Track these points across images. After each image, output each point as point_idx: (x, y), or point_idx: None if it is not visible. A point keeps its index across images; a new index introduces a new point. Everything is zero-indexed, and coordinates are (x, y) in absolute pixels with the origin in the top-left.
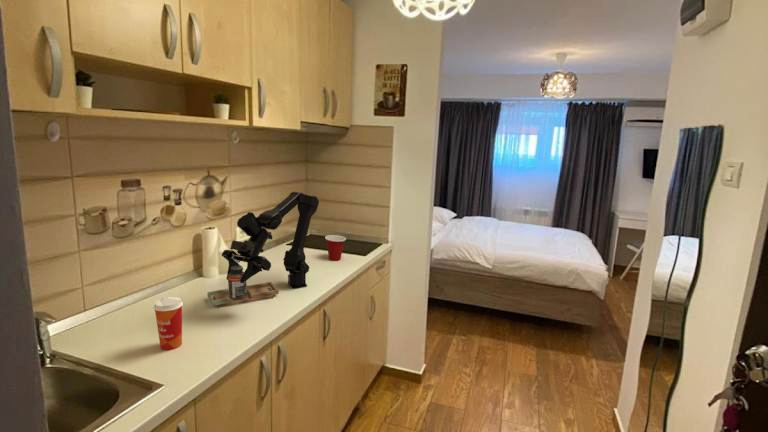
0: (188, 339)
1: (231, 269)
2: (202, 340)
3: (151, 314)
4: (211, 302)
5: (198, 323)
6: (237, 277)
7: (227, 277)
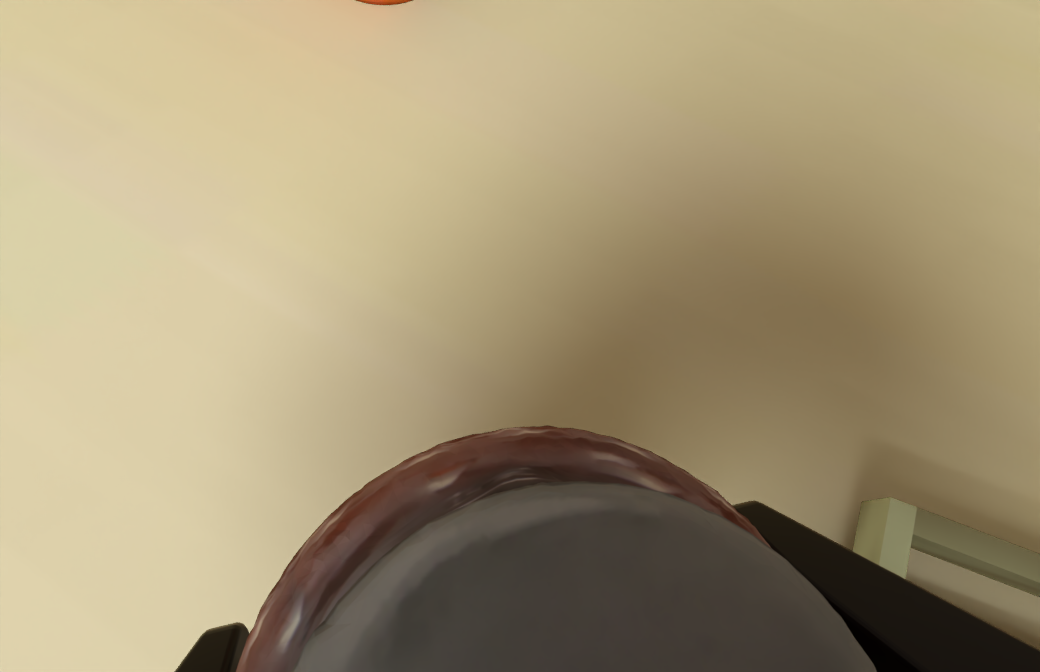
0: (370, 54)
1: (576, 484)
2: (261, 103)
3: (1019, 97)
4: (894, 503)
5: (587, 237)
6: (282, 581)
7: (751, 519)
